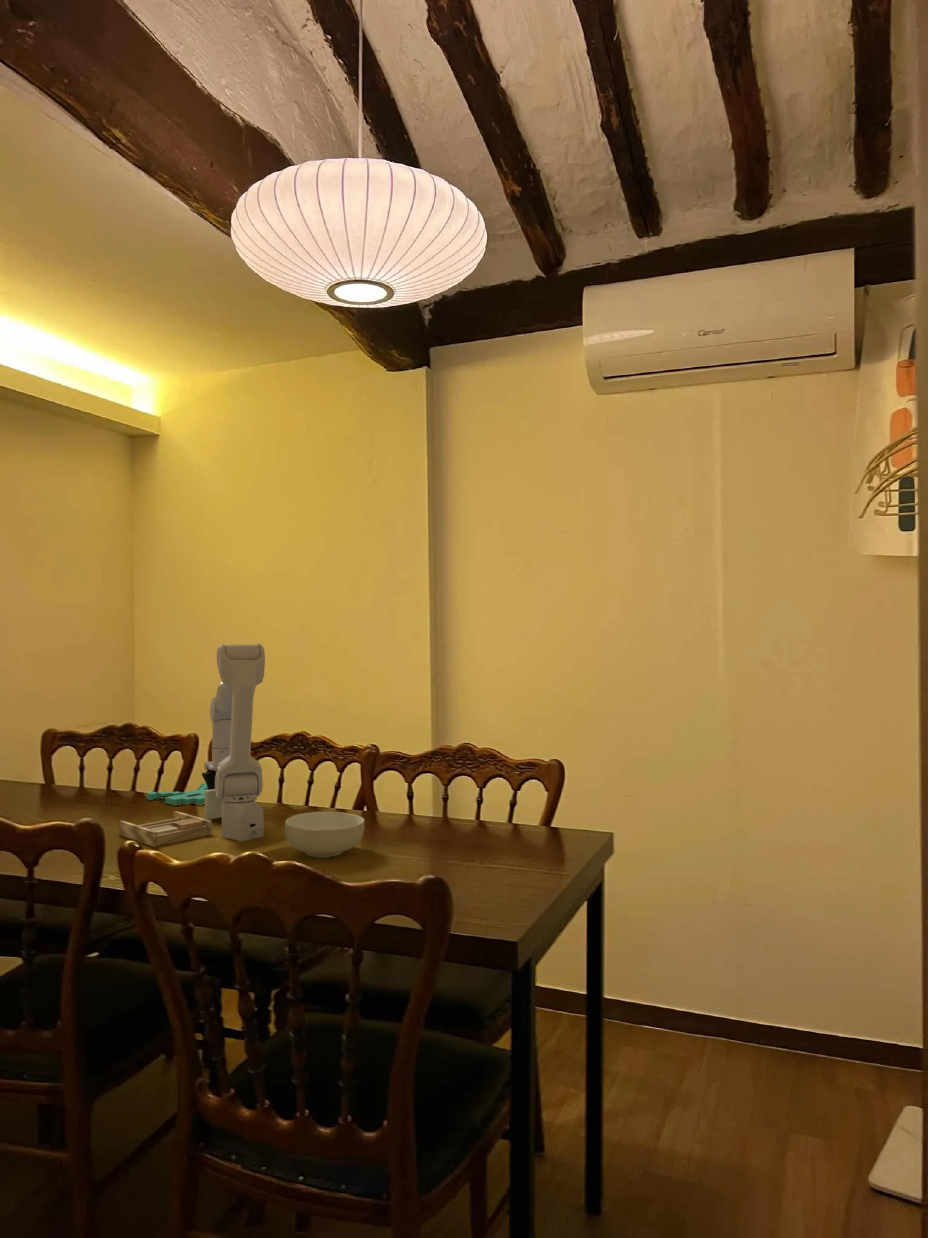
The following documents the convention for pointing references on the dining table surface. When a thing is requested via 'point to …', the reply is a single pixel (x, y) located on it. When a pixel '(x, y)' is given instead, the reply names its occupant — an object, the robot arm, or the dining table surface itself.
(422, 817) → the dining table surface
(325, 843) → the cereal bowl
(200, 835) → the rack
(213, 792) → the sheet
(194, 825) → the oak offcut
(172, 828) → the ash offcut
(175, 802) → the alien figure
